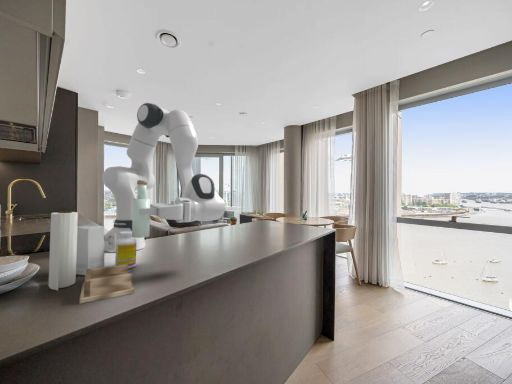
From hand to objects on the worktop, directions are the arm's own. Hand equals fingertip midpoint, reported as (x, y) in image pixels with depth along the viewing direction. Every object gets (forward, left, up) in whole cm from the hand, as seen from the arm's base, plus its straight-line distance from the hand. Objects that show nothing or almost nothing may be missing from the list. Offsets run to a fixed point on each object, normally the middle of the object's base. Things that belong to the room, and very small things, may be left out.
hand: (138, 210), depth 73 cm
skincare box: (-20, -4, -22) cm, 30 cm away
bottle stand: (0, -9, -22) cm, 24 cm away
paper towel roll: (-14, -14, -22) cm, 30 cm away
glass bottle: (0, +1, -8) cm, 8 cm away
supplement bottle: (-14, +6, -22) cm, 27 cm away
